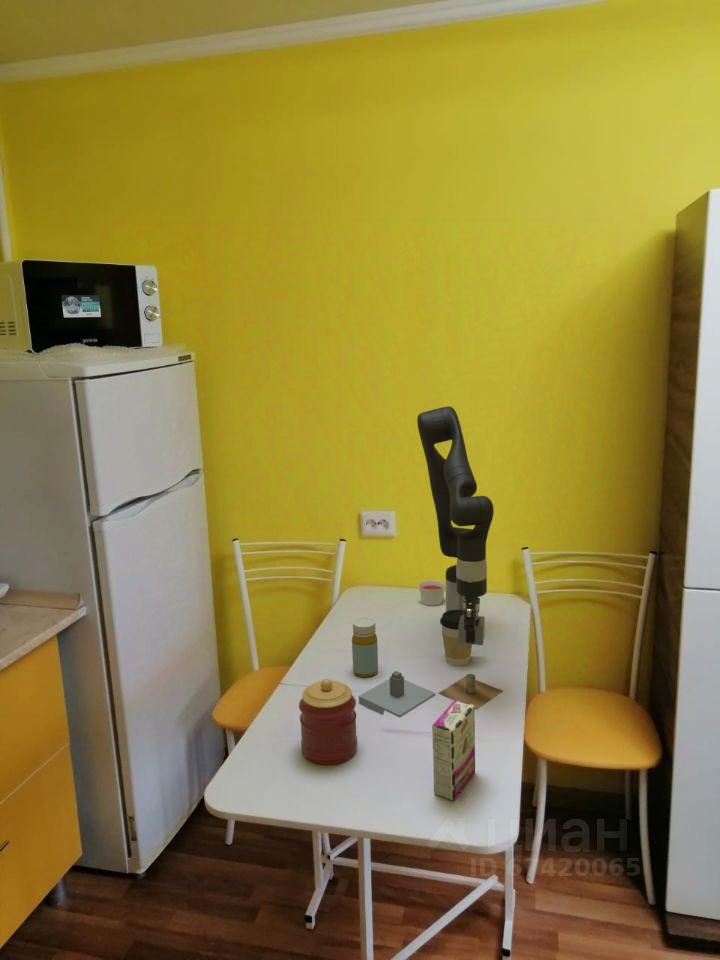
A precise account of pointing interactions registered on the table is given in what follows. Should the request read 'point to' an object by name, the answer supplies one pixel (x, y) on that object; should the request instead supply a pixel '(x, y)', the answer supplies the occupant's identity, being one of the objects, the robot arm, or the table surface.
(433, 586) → the candle
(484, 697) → the stand
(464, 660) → the coffee cup
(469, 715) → the candy bar box
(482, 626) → the recessed metal cube
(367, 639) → the bottle
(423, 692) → the square plate
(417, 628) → the table surface
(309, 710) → the canister
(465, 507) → the robot arm
